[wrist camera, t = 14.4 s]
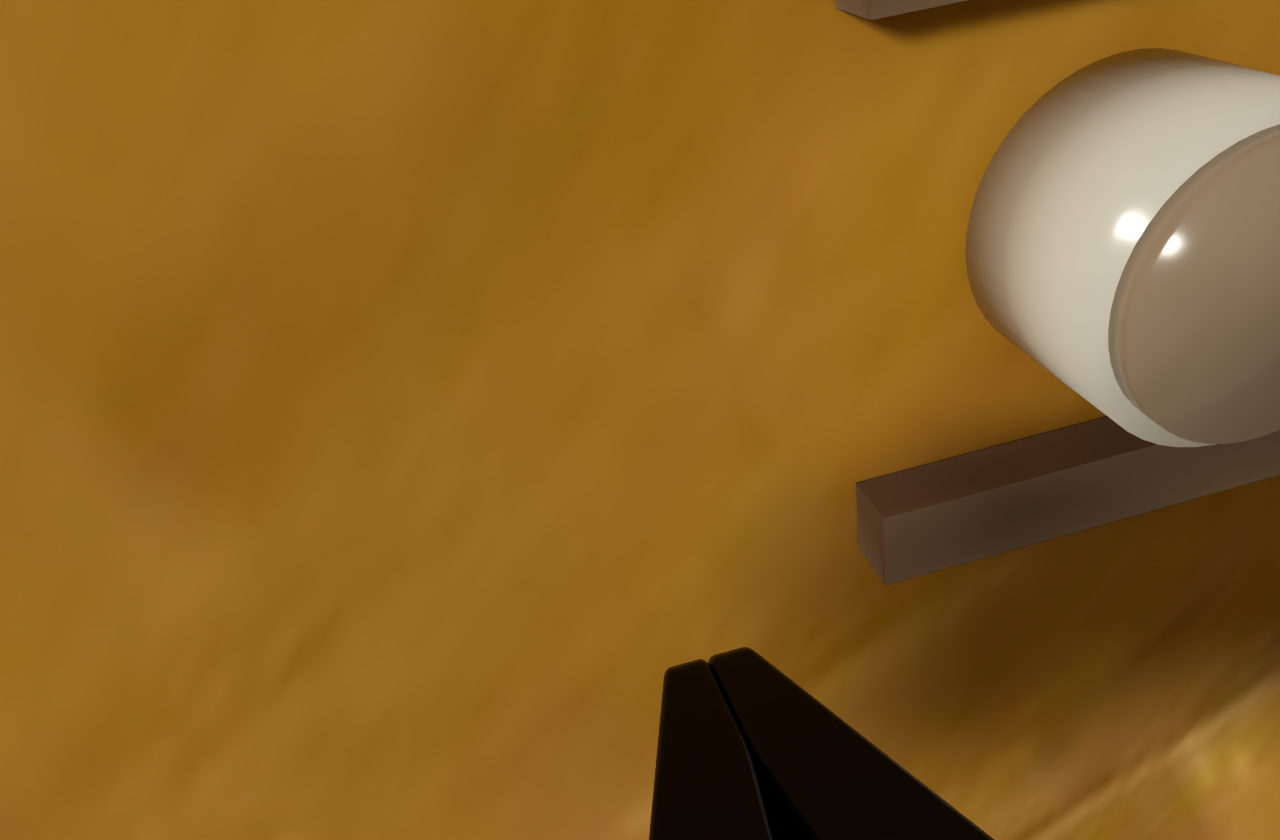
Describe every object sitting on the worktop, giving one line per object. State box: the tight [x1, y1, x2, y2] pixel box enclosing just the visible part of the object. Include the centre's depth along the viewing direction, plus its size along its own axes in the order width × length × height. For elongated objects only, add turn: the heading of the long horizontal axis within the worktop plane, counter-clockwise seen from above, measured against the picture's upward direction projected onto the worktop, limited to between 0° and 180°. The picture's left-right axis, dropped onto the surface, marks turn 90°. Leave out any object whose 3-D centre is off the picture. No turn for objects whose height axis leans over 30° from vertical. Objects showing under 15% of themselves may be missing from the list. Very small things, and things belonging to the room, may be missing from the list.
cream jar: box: [966, 48, 1280, 447], centre depth 16 cm, size 6×6×4 cm
